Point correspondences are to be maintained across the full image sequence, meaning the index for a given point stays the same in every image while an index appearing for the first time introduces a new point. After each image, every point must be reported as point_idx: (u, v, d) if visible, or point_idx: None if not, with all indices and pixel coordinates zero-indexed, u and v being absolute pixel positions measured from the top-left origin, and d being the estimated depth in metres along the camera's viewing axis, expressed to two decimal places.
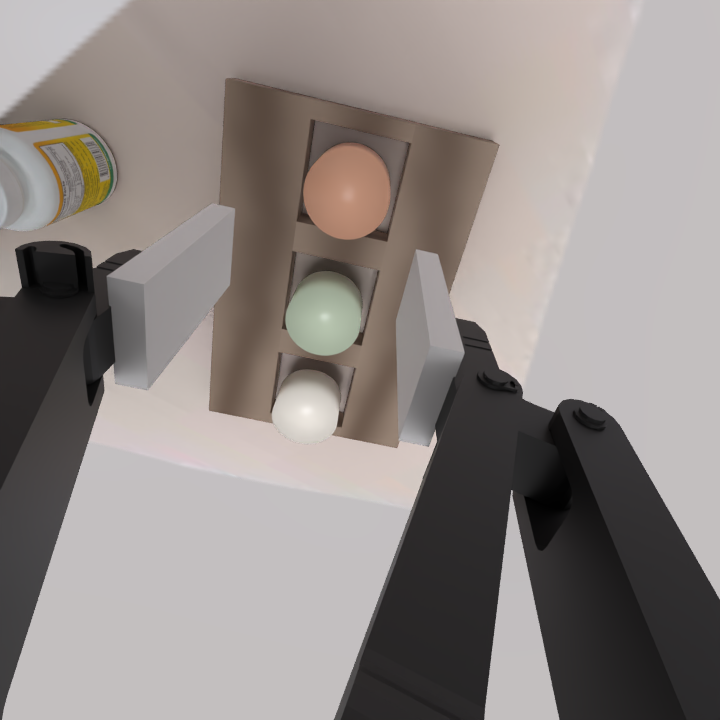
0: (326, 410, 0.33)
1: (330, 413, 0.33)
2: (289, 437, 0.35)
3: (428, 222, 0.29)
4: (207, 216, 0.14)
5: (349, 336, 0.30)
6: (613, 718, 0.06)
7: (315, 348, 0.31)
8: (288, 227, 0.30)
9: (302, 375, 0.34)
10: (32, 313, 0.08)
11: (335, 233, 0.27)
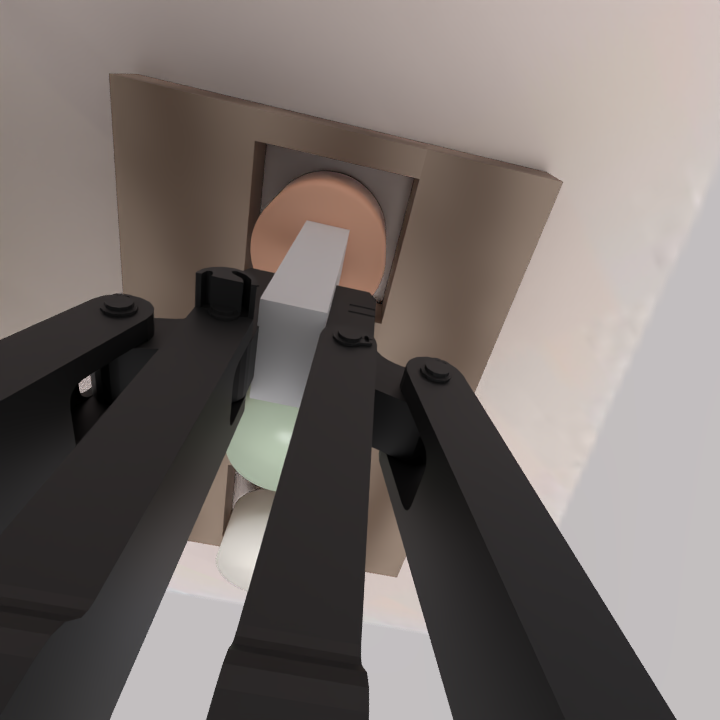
0: None
1: None
2: (243, 588, 0.24)
3: (445, 296, 0.19)
4: (310, 234, 0.14)
5: None
6: (479, 659, 0.06)
7: (273, 483, 0.20)
8: None
9: (261, 501, 0.24)
10: (199, 333, 0.09)
11: None
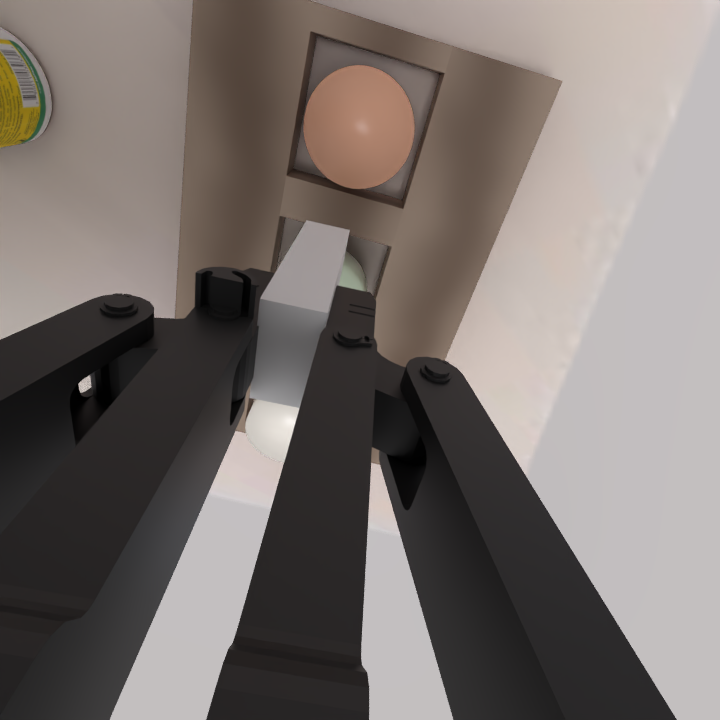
0: None
1: None
2: (266, 454, 0.28)
3: (459, 185, 0.23)
4: (310, 233, 0.14)
5: None
6: (479, 659, 0.06)
7: None
8: (275, 183, 0.23)
9: None
10: (198, 333, 0.09)
11: (342, 180, 0.21)
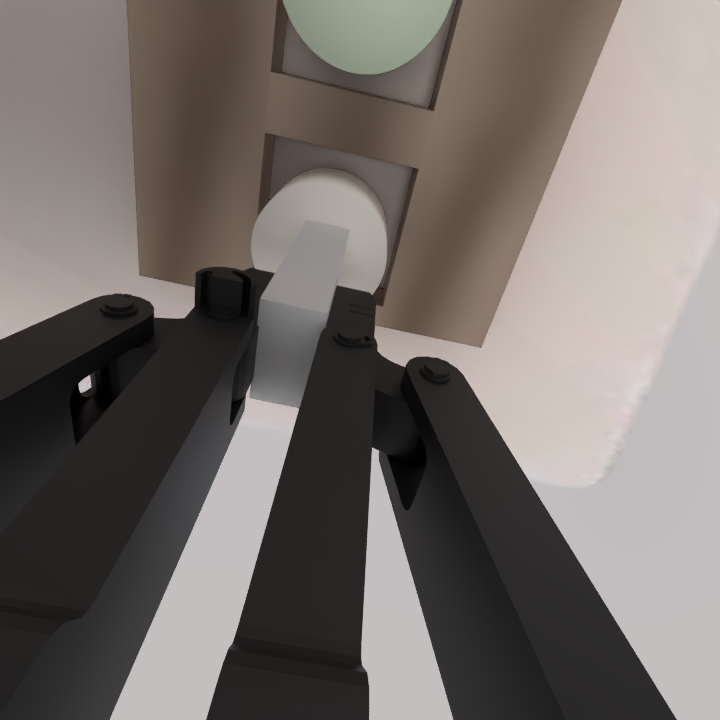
0: (365, 231, 0.16)
1: (373, 239, 0.16)
2: None
3: None
4: (309, 234, 0.14)
5: (430, 10, 0.13)
6: (479, 659, 0.06)
7: (346, 52, 0.13)
8: None
9: (313, 172, 0.17)
10: (198, 333, 0.09)
11: None
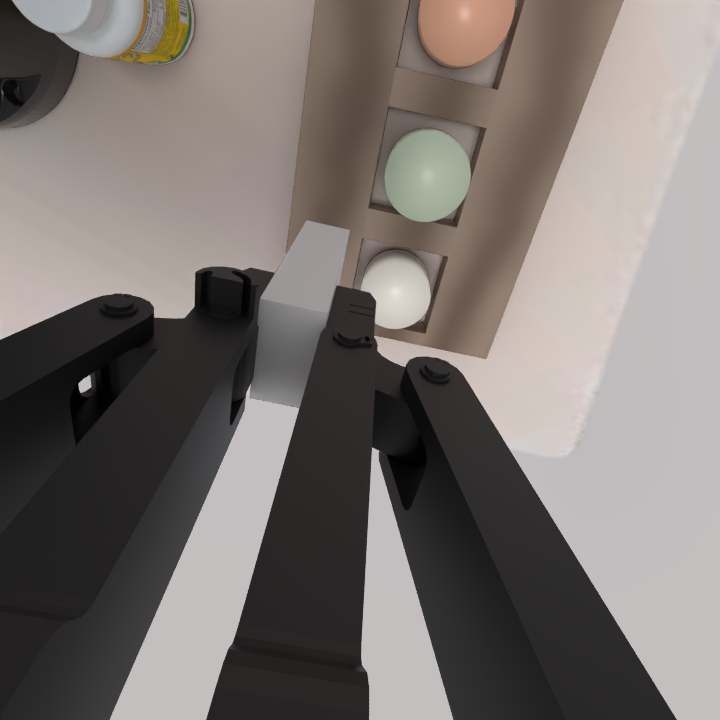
0: (419, 285, 0.31)
1: (423, 289, 0.31)
2: (376, 321, 0.33)
3: (548, 62, 0.26)
4: (310, 234, 0.14)
5: (456, 195, 0.26)
6: (479, 659, 0.06)
7: (415, 212, 0.27)
8: (386, 75, 0.27)
9: (391, 253, 0.32)
10: (199, 333, 0.09)
11: (450, 58, 0.25)
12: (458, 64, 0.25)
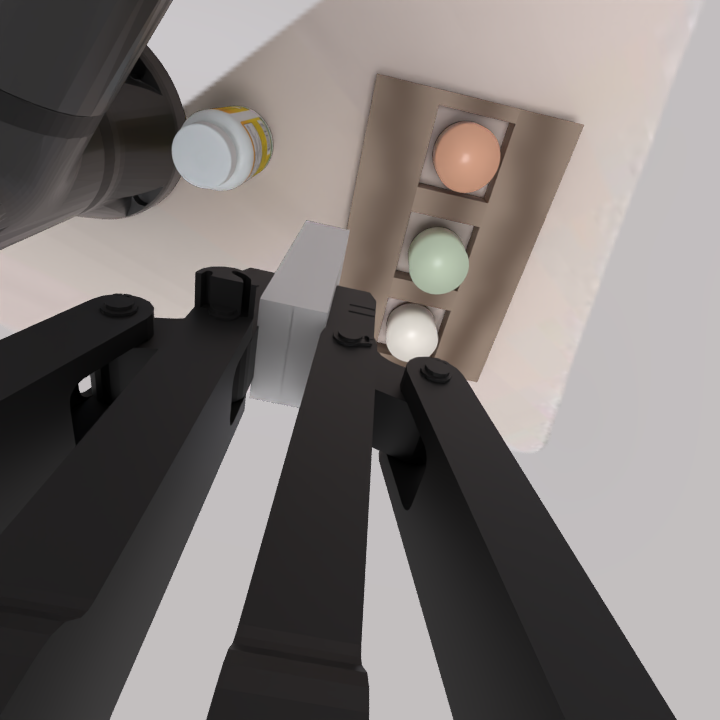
0: (430, 332, 0.43)
1: (433, 335, 0.43)
2: (397, 357, 0.44)
3: (522, 187, 0.37)
4: (310, 234, 0.14)
5: (458, 277, 0.38)
6: (479, 659, 0.06)
7: (430, 288, 0.39)
8: (410, 191, 0.38)
9: (408, 307, 0.44)
10: (198, 333, 0.09)
11: (456, 188, 0.36)
12: (461, 191, 0.36)
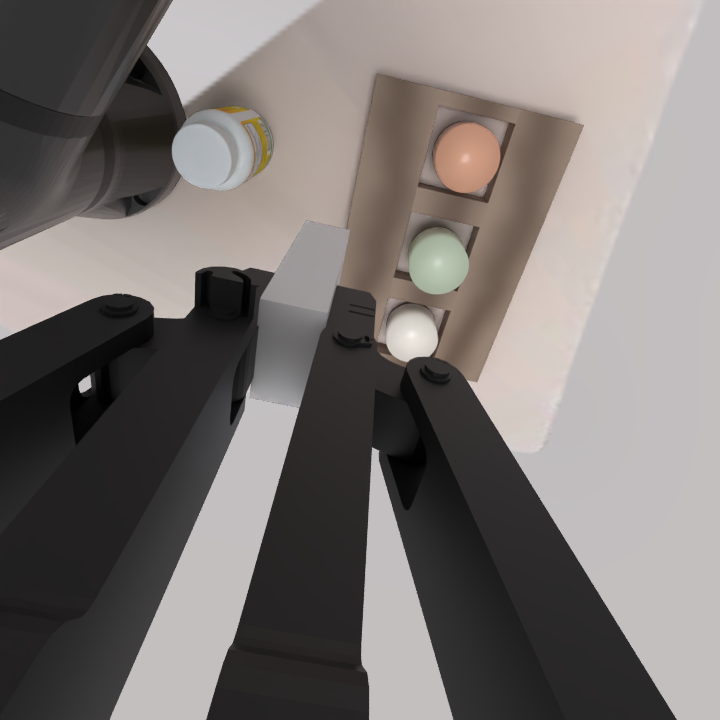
0: (430, 332, 0.43)
1: (433, 335, 0.43)
2: (397, 357, 0.44)
3: (522, 187, 0.38)
4: (309, 234, 0.14)
5: (458, 278, 0.38)
6: (479, 659, 0.06)
7: (430, 288, 0.39)
8: (410, 191, 0.38)
9: (408, 307, 0.44)
10: (199, 333, 0.09)
11: (456, 188, 0.36)
12: (461, 192, 0.36)
